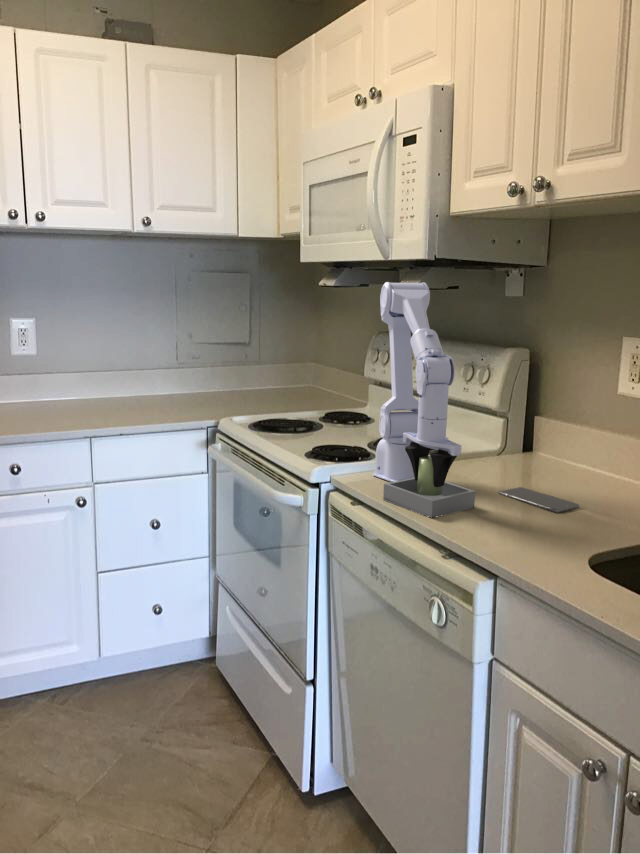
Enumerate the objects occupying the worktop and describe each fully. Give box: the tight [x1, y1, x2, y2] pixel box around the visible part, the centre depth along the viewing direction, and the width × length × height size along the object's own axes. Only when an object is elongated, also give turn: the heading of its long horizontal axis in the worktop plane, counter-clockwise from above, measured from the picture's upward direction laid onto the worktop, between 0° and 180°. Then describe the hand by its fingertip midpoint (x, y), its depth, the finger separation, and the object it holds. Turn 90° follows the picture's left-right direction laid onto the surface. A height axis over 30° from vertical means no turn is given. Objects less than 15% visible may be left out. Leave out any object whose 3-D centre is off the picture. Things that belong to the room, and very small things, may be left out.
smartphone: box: [498, 486, 581, 514], centre depth 153 cm, size 7×1×16 cm
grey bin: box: [382, 478, 476, 519], centre depth 149 cm, size 14×12×4 cm
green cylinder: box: [417, 455, 442, 496], centre depth 149 cm, size 5×5×7 cm
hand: (429, 483), depth 149 cm, fingers closed on green cylinder, 5 cm apart
